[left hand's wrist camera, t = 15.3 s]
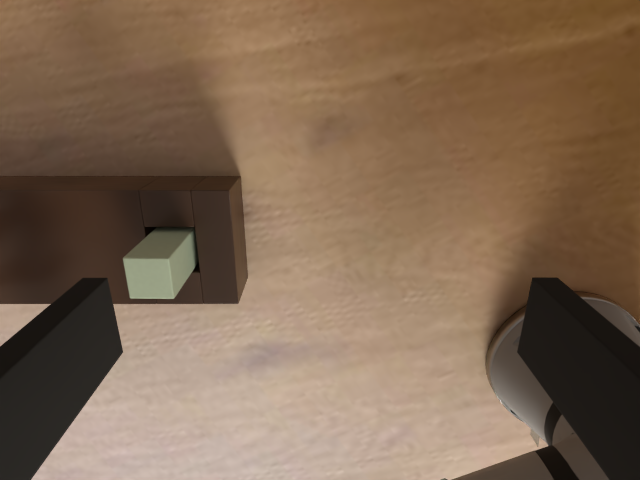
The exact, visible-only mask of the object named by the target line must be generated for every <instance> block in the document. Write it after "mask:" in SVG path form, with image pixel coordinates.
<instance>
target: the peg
mask: <svg viewBox="0 0 640 480" xmlns="http://www.w3.org/2000/svg"><path fill="white" fill-rule="evenodd" d="M198 262H199V259H198V250H197V242H196V233H195V227H157V228H156V229H154V230H153V231H152V232H151V233H150V234H149V235H148V236H147V237H146V238H144V239H143V240H142V241H141V242H140V243H139V244H138V245H137V246H136V247H134V248H133V249H132V250H131V251H130V252H129V253H128V254H127V255H126V256H124V257H123V263H124V268H125V274H126V279H127V285H128V290H129V296H130V298H142V299H174V298H175V296H176V295H177V293H178V292H179V290H180V289H181V287H182V286H183V284H184V283H185V281H186V280H187V279H188V277H189V276H190V274H191V273H192V271H193V270H194V268H195V267H196V265H197V264H198Z"/></svg>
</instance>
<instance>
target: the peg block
mask: <svg viewBox="0 0 640 480" xmlns="http://www.w3.org/2000/svg"><path fill="white" fill-rule="evenodd" d="M157 227H195V233H196V242H197V250H198V259H199V262H198V264H197V265H196V267H195V268H194V270H193V271H192V273H191V274H190V276H189V277H188V279H187V280H186V281H185V283H184V284H183V286H182V287H181V289H180V290H179V292H178V293H177V295H176V296H175V298H174V299H142V298H130V296H129V290H128V285H127V279H126V274H125V268H124V263H123V257H124V256H126V255H127V254H128V253H129V252H130V251H131V250H132V249H133V248H134V247H136V246H137V245H138V244H139V243H140V242H141V241H142V240H143V239H144V238H146V237H147V236H148V235H149V234H150V233H151V232H152V231H153V230H154V229H156V228H157ZM82 278H108V282H109V287H110V292H111V297H112V302H113V304H203V303H204V304H238V303H239V300H240V298H241V295H242V292H243V289H244V287H245V284H246V281H247V278H248V274H247V259H246V245H245V231H244V216H243V202H242V188H241V177H240V176H0V304H52V303H53V302H54V301H55V300H57V299H58V298H59V297H60V296H61V295H63V294H64V293H65V292H66V291H67V290H69V289H70V288H71V287H72V286H73V285H75V284H76V283H77V282H78V281H79V280H81V279H82Z"/></svg>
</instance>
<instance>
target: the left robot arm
mask: <svg viewBox="0 0 640 480" xmlns="http://www.w3.org/2000/svg"><path fill="white" fill-rule="evenodd" d="M122 353H123V350H122V345H121V340H120V335H119V331H118V326H117V321H116V316H115V311H114V306H113V302H112V297H111V292H110V287H109V282H108V278H82V279H81V280H79V281H78V282H77V283H76V284H75V285H73V286H72V287H71V288H70V289H69V290H67V291H66V292H65V293H64V294H63V295H61V296H60V297H59V298H58V299H57V300H55V301H54V302H53V303H52V304H51V305H50V306H48V307H47V308H46V309H45V310H44V311H42V312H41V313H40V314H39V315H38V316H36V317H35V318H34V319H33V320H32V321H30V322H29V323H28V324H27V325H26V326H24V327H23V328H22V329H21V330H20V331H18V332H17V333H16V334H15V335H14V336H12V337H11V338H10V339H9V340H8V341H6V342H5V343H4V344H3V345H2V346H0V480H31V479H32V477H33V476H34V475H35V473H36V472H37V470H38V469H39V468H40V466H41V465H42V463H43V462H44V461H45V459H46V458H47V457H48V455H49V454H50V452H51V451H52V450H53V448H54V447H55V446H56V444H57V443H58V441H59V440H60V439H61V437H62V436H63V434H64V433H65V432H66V430H67V429H68V428H69V426H70V425H71V423H72V422H73V421H74V419H75V418H76V416H77V415H78V414H79V412H80V411H81V410H82V408H83V407H84V405H85V404H86V403H87V401H88V400H89V398H90V397H91V396H92V394H93V393H94V392H95V390H96V389H97V387H98V386H99V385H100V383H101V382H102V380H103V379H104V378H105V376H106V375H107V374H108V372H109V371H110V369H111V368H112V367H113V365H114V364H115V362H116V361H117V360H118V358H119V357H120V356H121V354H122ZM486 372H487V377H488V380H489V383H490V385H491V387H492V389H493V390H494V392H495V394H496V396H497V398H498V399H499V400H500V402H501V403H502V404H503V405H504V406H505V408H506V409H507V410H508V411H509V412H510V413H511V414H513V415H514V416H515V417H516V418H518V419H519V420H521V421H523V422H524V423H526V424H527V425H528V426H529V427H530V428H531V436H532V438H533V439H534V441H535V443H536V444H537V446H538V444H539V437H541V438H542V439H543V440H544V441H545V442H546V443H547V444H548V447H545V448H542V449H539V450H536V451H532V452H529V453H526V454H523V455H521V456H518V457H515V458H512V459H509V460H506V461H504V462H501V463H498V464H495V465H492V466H489V467H487V468H484V469H481V470H478V471H475V472H472V473H470V474H467V475H464V476H461V477H458V478H455V479H452V480H640V324H639V323H638V322H637V321H636V320H635V319H634V318H633V317H632V316H631V315H630V314H629V313H628V312H627V311H626V310H624V309H623V308H622V307H620V306H619V305H618V304H616V303H615V302H613V301H612V300H610V299H608V298H605V297H603V296H600V295H597V294H592V293H586V292H574V291H573V290H571V289H570V288H569V287H568V286H567V285H565V284H564V283H563V282H562V281H561V280H559V279H558V278H532V282H531V287H530V292H529V297H528V302H527V306H525V307H523V308H522V309H520V310H519V311H517V312H516V313H515V314H514V315H512V316H511V317H510V318H509V319H508V320H507V321H506V322H505V323H504V324H503V325H502V326H501V328H500V329H499V330H498V332H497V333H496V335H495V336H494V338H493V340H492V342H491V344H490V347H489V350H488V353H487V358H486ZM441 480H447V479H445V478H444V479H441Z"/></svg>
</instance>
